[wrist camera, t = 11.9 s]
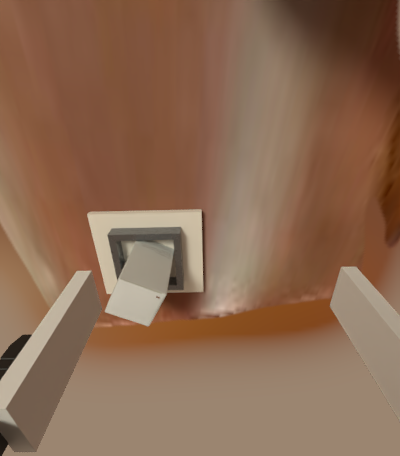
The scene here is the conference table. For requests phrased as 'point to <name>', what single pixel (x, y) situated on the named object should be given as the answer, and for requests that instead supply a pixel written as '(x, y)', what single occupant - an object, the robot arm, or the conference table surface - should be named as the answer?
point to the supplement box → (142, 282)
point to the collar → (148, 234)
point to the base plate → (147, 219)
